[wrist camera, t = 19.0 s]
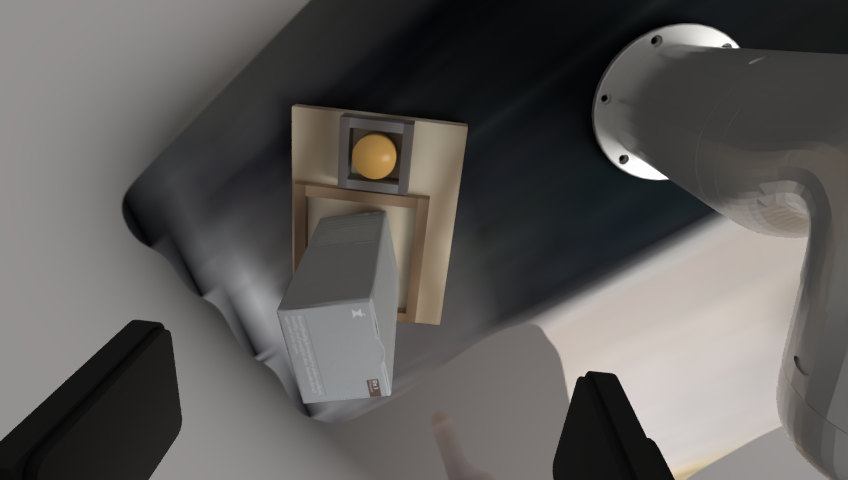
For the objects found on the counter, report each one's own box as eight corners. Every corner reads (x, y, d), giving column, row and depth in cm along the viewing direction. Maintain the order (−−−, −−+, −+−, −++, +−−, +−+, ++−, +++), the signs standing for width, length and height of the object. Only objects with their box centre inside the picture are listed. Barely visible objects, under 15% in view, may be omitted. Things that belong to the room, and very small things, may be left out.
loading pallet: (467, 123, 42) (468, 131, 39) (439, 316, 50) (439, 336, 47) (296, 103, 42) (284, 109, 39) (296, 300, 50) (286, 318, 47)
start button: (399, 134, 41) (397, 138, 39) (395, 174, 42) (393, 181, 41) (357, 129, 41) (353, 133, 39) (355, 170, 42) (351, 176, 41)
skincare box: (320, 215, 45) (260, 304, 30) (396, 207, 44) (372, 294, 30) (338, 294, 48) (291, 409, 33) (409, 288, 47) (392, 402, 33)
